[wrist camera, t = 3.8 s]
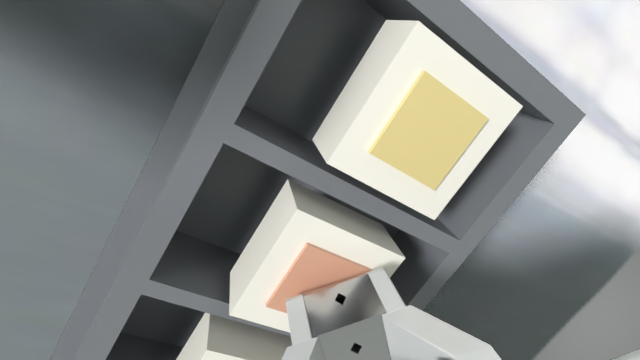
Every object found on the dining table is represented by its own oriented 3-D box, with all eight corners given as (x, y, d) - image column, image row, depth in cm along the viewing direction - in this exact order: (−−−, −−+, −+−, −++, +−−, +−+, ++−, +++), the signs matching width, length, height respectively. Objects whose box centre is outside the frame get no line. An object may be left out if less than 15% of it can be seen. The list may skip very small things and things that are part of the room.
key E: (406, 191, 13) (436, 222, 11) (312, 139, 11) (328, 165, 9) (478, 92, 12) (526, 107, 10) (386, 20, 10) (421, 20, 8)
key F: (324, 304, 14) (338, 350, 12) (230, 272, 12) (228, 318, 10) (382, 224, 13) (407, 260, 11) (287, 178, 11) (298, 211, 9)
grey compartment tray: (258, 418, 22) (264, 519, 18) (41, 380, 17) (-25, 504, 13) (499, 96, 16) (598, 126, 12) (270, -88, 12) (292, -152, 7)
